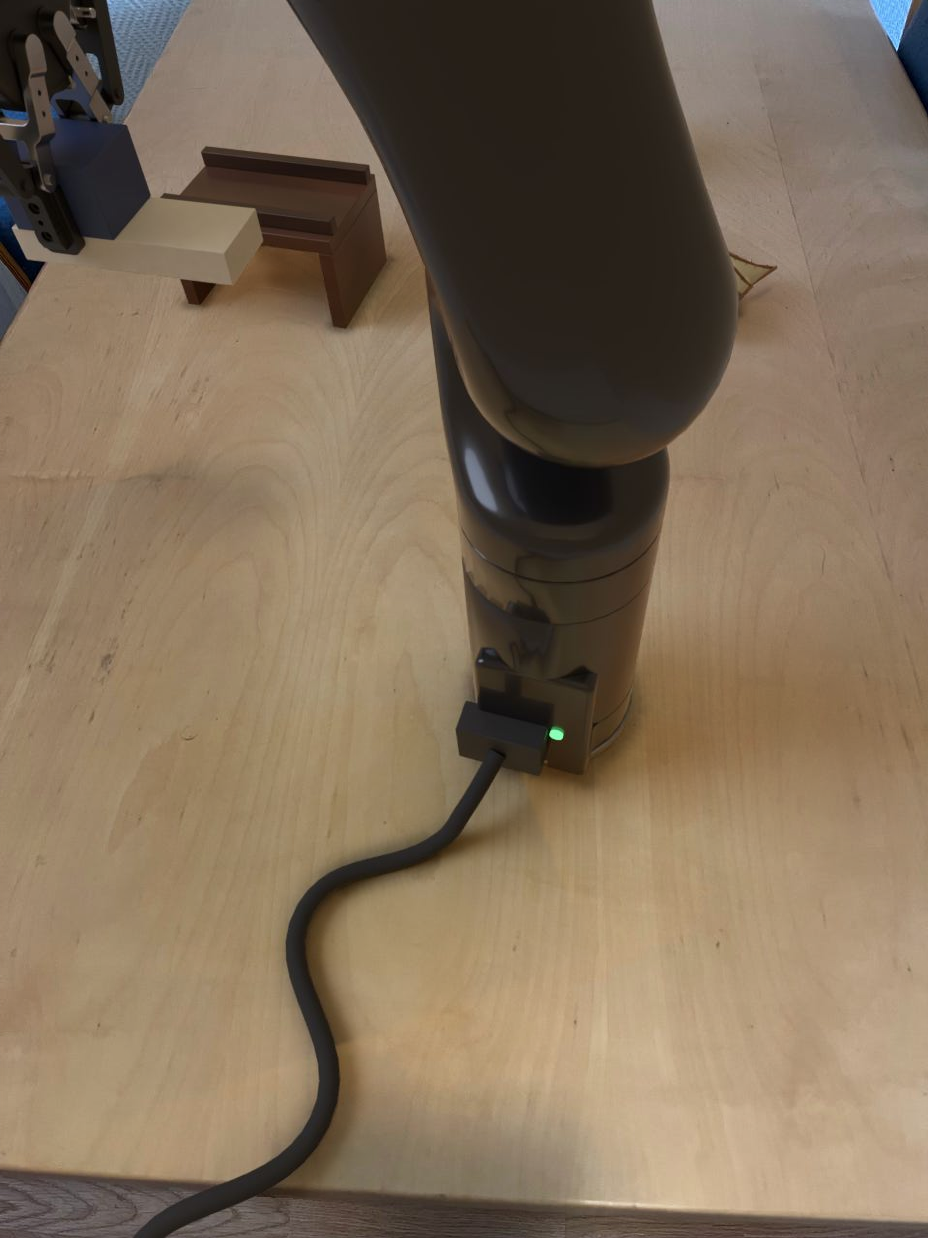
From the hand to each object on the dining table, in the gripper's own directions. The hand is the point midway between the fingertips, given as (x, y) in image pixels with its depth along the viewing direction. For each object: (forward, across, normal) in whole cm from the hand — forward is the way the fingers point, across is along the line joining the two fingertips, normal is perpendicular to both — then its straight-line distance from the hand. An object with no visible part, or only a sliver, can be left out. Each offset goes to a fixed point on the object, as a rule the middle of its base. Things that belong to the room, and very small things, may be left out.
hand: (90, 222), depth 52 cm
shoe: (+1, 0, -3) cm, 3 cm away
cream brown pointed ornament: (+16, +25, -24) cm, 38 cm away
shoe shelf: (+20, +23, +1) cm, 30 cm away
